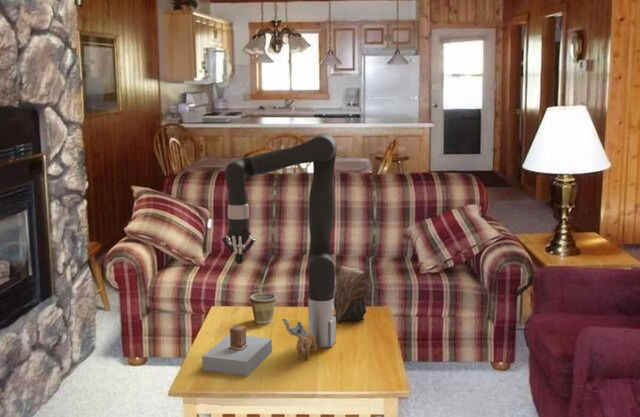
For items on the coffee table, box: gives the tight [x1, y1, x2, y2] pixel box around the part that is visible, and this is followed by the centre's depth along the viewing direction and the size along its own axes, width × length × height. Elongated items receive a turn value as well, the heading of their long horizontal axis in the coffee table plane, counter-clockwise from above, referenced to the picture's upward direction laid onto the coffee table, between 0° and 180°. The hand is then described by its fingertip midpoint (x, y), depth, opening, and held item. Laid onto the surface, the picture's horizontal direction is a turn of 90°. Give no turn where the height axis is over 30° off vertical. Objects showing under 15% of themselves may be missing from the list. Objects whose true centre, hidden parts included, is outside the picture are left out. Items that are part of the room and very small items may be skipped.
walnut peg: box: [229, 324, 247, 351], centre depth 266 cm, size 4×4×12 cm
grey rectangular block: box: [201, 333, 273, 377], centre depth 267 cm, size 16×22×5 cm
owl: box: [334, 265, 368, 324], centre depth 309 cm, size 13×13×20 cm
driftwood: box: [282, 318, 309, 339], centre depth 299 cm, size 21×7×2 cm, turn 12°
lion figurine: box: [296, 335, 319, 361], centre depth 270 cm, size 15×5×9 cm, turn 167°
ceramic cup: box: [249, 292, 277, 325], centre depth 308 cm, size 13×10×10 cm
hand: (239, 263), depth 283 cm, fingers closed
